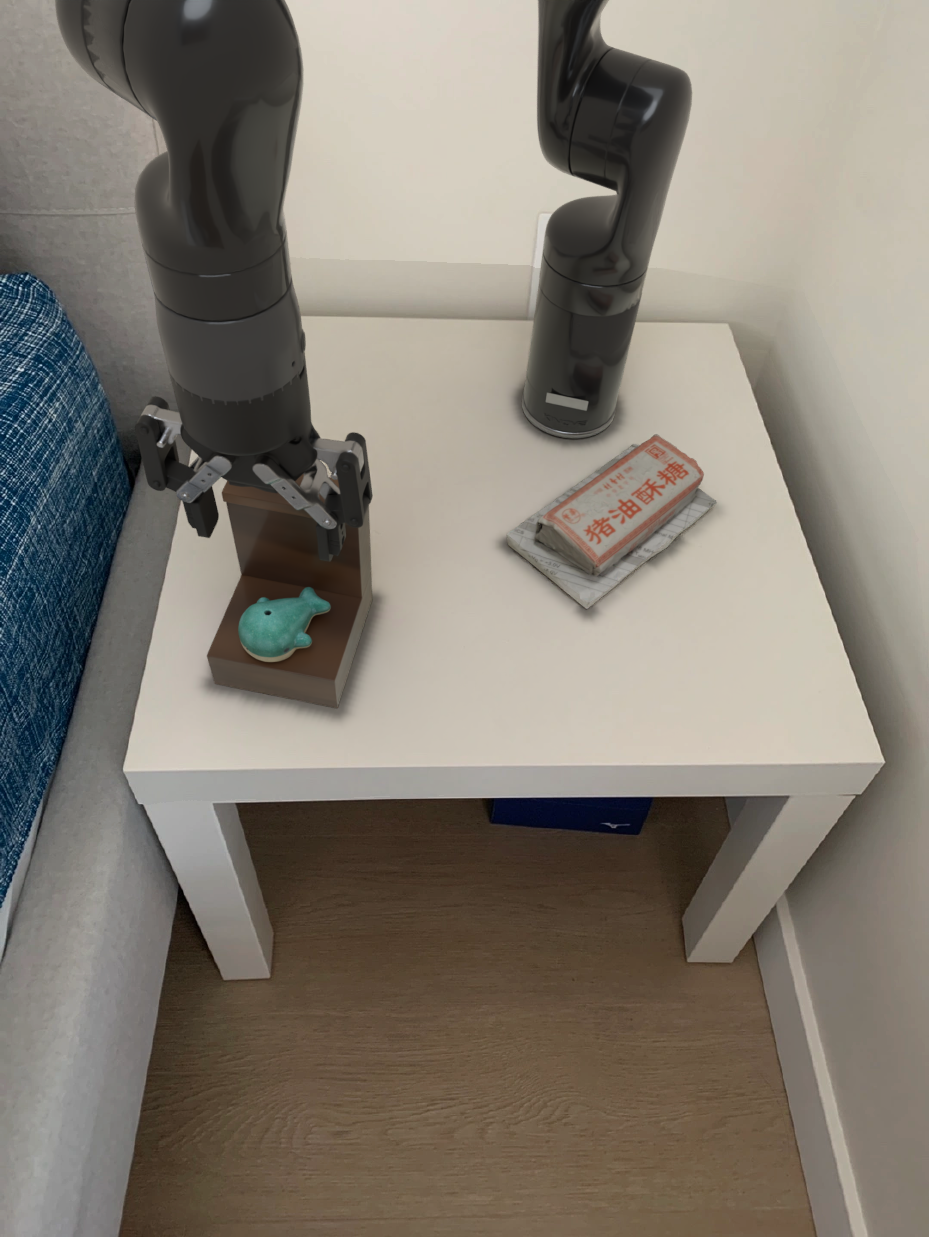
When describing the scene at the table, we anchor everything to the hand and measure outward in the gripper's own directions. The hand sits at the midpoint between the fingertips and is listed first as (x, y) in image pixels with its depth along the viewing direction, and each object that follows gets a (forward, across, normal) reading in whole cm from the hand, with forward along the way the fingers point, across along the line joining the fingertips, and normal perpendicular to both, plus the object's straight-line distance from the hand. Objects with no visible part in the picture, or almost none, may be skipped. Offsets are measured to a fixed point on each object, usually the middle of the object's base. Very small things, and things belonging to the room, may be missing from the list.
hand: (269, 539), depth 67 cm
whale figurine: (+11, 0, 0) cm, 11 cm away
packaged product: (+15, +24, +20) cm, 35 cm away
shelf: (+15, 0, +2) cm, 15 cm away
